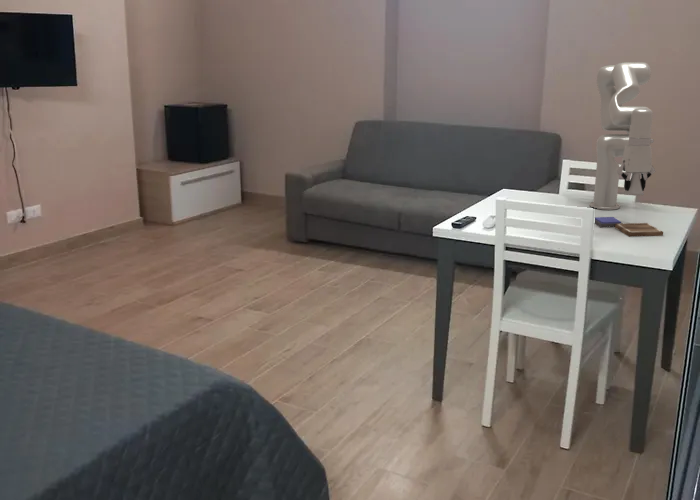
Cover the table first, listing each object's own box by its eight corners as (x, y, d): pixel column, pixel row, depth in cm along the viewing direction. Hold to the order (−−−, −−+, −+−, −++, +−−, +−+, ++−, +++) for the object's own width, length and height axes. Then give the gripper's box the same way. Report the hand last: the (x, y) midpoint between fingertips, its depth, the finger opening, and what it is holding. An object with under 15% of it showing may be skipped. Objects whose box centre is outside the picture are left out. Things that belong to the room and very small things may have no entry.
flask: (645, 196, 268) (648, 170, 266) (625, 196, 270) (627, 169, 267) (642, 192, 275) (645, 167, 272) (622, 192, 277) (624, 166, 274)
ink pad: (591, 221, 289) (592, 217, 288) (613, 221, 289) (614, 216, 289) (600, 227, 280) (601, 222, 280) (623, 227, 281) (623, 222, 280)
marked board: (614, 227, 280) (615, 223, 280) (647, 226, 281) (647, 222, 280) (629, 236, 268) (629, 232, 267) (662, 235, 268) (663, 231, 268)
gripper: (657, 140, 271) (651, 188, 276) (612, 141, 270) (608, 188, 276) (666, 143, 264) (660, 191, 269) (620, 144, 263) (616, 192, 268)
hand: (634, 189), depth 272 cm, fingers closed on flask, 4 cm apart
